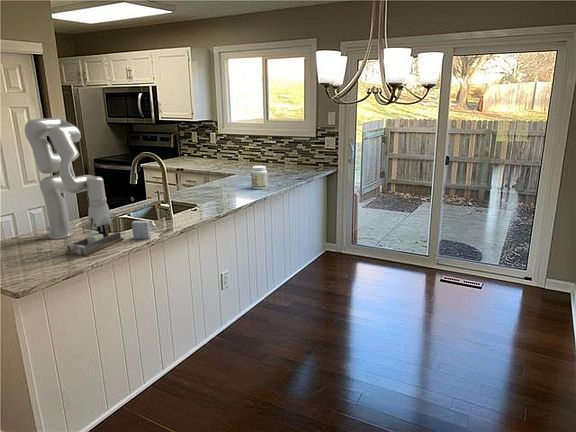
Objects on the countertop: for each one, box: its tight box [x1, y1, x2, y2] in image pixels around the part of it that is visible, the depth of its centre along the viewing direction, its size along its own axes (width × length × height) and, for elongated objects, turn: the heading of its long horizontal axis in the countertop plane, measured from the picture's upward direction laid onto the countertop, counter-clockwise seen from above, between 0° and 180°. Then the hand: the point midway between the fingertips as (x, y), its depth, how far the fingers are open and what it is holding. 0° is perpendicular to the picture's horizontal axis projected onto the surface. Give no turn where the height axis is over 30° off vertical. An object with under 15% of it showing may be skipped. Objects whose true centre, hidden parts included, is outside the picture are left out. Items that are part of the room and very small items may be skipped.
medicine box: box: [131, 220, 152, 240], centre depth 213 cm, size 8×4×9 cm, turn 92°
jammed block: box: [86, 232, 104, 244], centre depth 202 cm, size 5×5×4 cm
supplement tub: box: [250, 165, 268, 190], centre depth 326 cm, size 12×12×17 cm
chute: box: [65, 230, 124, 257], centre depth 202 cm, size 12×24×5 cm, turn 160°
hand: (103, 238), depth 207 cm, fingers closed
